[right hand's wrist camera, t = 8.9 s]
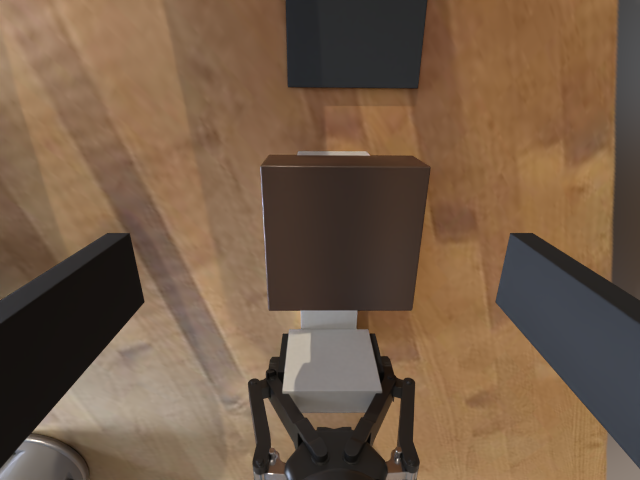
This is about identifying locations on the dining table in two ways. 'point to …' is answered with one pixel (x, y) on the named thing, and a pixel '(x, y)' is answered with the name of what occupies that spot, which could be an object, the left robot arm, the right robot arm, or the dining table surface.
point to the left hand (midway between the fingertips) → (328, 342)
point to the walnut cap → (342, 231)
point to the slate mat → (354, 43)
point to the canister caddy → (330, 357)
